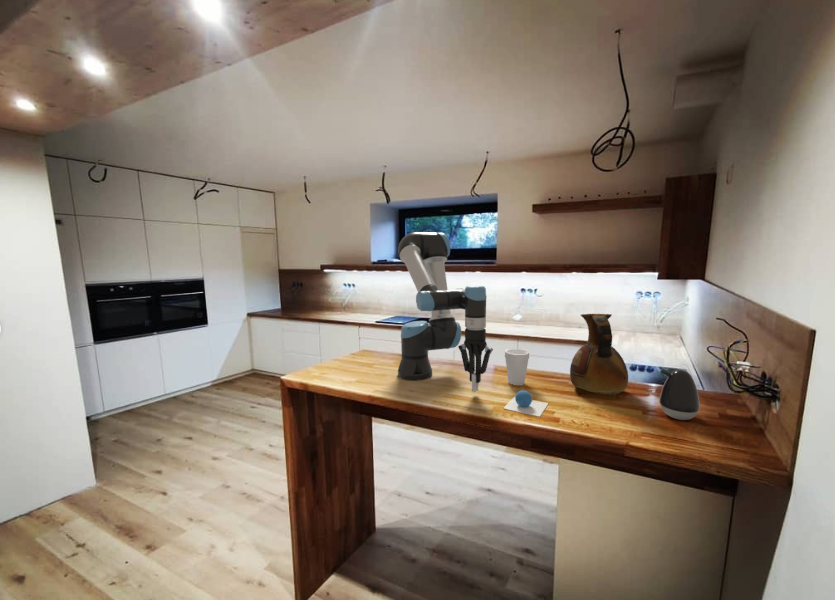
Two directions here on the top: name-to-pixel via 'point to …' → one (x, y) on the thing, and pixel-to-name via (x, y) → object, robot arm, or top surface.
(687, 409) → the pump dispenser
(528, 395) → the ball
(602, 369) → the ceramic pitcher
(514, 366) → the foam cup
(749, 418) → the top surface
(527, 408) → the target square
